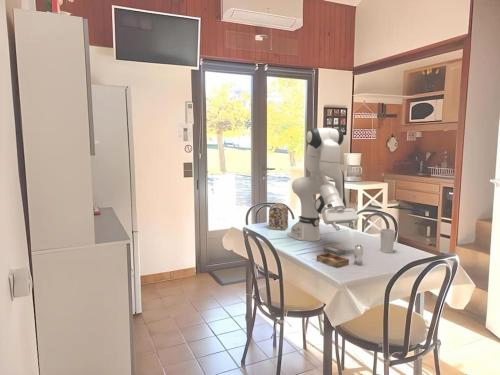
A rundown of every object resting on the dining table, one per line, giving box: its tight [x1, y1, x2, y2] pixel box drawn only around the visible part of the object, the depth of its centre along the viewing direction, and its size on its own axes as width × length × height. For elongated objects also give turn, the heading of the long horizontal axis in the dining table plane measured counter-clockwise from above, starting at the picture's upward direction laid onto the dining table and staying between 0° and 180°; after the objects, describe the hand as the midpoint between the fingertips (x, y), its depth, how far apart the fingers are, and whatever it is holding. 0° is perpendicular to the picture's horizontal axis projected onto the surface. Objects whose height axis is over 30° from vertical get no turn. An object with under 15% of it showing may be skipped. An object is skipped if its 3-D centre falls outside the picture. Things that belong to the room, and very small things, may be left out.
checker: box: [322, 245, 346, 256], centre depth 204 cm, size 9×7×3 cm
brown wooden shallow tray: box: [316, 252, 350, 269], centre depth 188 cm, size 14×9×3 cm, turn 37°
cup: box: [379, 228, 397, 254], centre depth 208 cm, size 8×8×12 cm
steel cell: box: [353, 244, 364, 266], centre depth 186 cm, size 4×4×10 cm
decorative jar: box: [268, 202, 289, 231], centre depth 260 cm, size 12×12×18 cm
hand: (345, 229), depth 196 cm, fingers open, 8 cm apart
